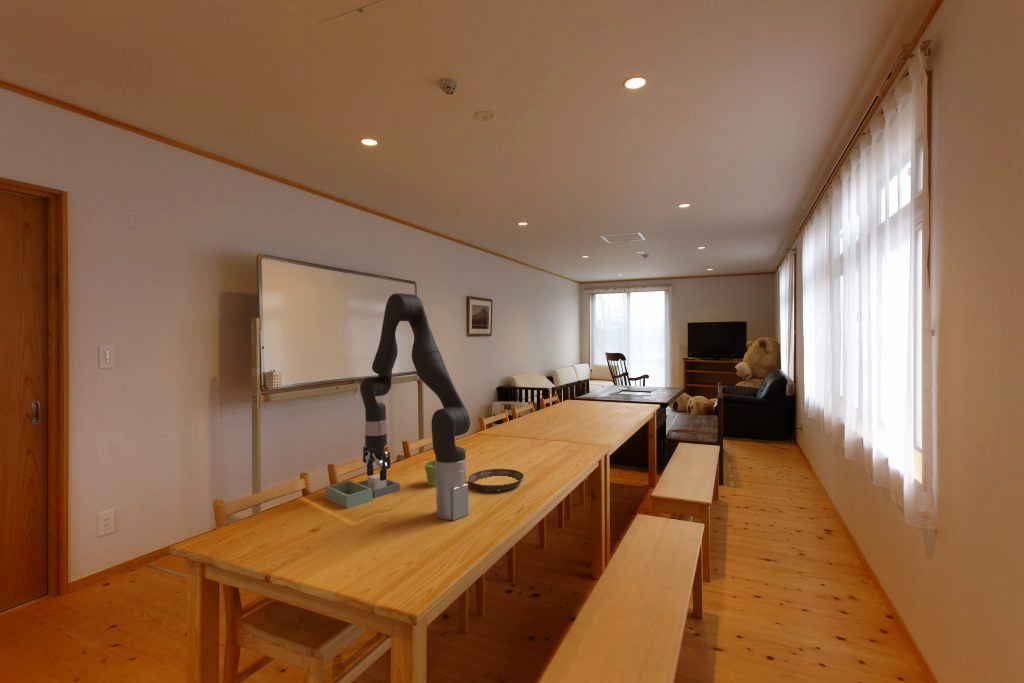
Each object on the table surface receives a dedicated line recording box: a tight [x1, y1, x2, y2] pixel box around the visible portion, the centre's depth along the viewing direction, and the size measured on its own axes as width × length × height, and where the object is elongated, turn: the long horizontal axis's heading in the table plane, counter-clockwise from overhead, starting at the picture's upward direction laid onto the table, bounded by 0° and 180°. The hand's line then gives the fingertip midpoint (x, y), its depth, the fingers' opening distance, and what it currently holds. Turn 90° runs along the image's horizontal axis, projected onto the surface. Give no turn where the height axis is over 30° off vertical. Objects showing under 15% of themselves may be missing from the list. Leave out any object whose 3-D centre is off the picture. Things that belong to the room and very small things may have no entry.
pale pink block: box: [367, 473, 386, 489], centre depth 167 cm, size 4×5×5 cm
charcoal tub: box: [356, 478, 401, 499], centre depth 167 cm, size 13×10×4 cm
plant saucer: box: [467, 468, 525, 492], centre depth 175 cm, size 21×21×3 cm
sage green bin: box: [324, 479, 374, 509], centre depth 158 cm, size 15×9×5 cm, turn 48°
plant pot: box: [422, 459, 436, 488], centre depth 173 cm, size 9×9×9 cm
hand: (376, 477), depth 167 cm, fingers open, 8 cm apart
